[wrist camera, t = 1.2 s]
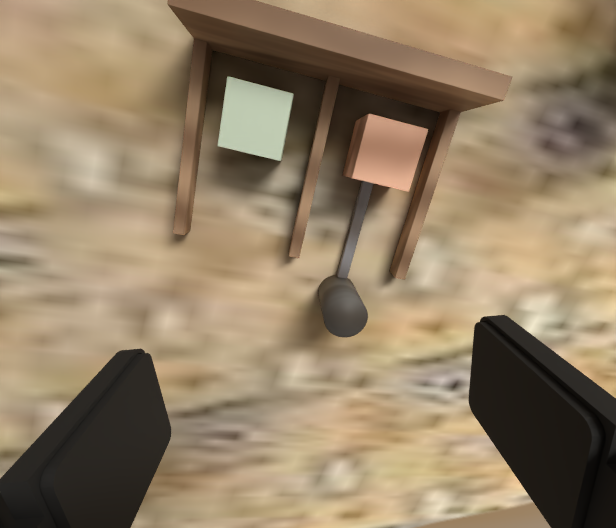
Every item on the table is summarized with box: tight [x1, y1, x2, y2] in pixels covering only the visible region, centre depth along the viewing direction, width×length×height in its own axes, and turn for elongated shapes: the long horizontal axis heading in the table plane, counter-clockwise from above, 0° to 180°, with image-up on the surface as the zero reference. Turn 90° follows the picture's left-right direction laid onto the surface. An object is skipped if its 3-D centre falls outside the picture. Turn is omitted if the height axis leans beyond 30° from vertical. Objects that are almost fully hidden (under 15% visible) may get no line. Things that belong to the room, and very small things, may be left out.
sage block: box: [218, 76, 293, 161], centre depth 27 cm, size 5×5×5 cm
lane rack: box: [168, 0, 512, 280], centre depth 27 cm, size 18×23×8 cm
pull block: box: [318, 114, 428, 337], centre depth 30 cm, size 19×5×6 cm, turn 167°
